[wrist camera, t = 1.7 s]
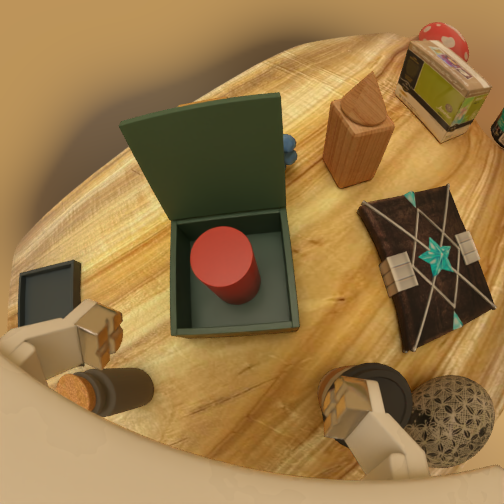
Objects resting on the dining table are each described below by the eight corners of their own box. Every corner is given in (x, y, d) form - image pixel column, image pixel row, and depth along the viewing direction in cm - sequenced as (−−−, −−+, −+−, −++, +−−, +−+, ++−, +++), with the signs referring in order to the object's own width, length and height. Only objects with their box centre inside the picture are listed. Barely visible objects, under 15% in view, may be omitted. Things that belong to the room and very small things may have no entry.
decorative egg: (398, 366, 34) (455, 370, 20) (461, 379, 32) (526, 382, 18) (371, 445, 31) (412, 486, 17) (436, 452, 29) (492, 481, 15)
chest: (296, 331, 38) (299, 326, 31) (188, 338, 39) (170, 335, 32) (285, 228, 42) (285, 205, 36) (186, 238, 43) (171, 219, 37)
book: (355, 212, 42) (362, 195, 37) (439, 192, 42) (451, 176, 37) (401, 353, 35) (416, 353, 30) (485, 313, 34) (504, 307, 30)
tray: (84, 366, 38) (76, 365, 36) (27, 364, 39) (19, 364, 37) (80, 263, 44) (73, 259, 42) (26, 276, 45) (19, 273, 43)
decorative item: (355, 149, 46) (379, 54, 27) (374, 179, 44) (412, 86, 25) (320, 158, 46) (333, 58, 27) (338, 190, 44) (365, 92, 25)
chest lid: (280, 96, 22) (274, 73, 24) (118, 126, 23) (130, 100, 25) (286, 206, 35) (281, 179, 38) (169, 220, 36) (173, 193, 39)
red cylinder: (264, 300, 39) (257, 280, 28) (217, 308, 39) (193, 292, 28) (256, 254, 41) (247, 220, 30) (211, 263, 41) (187, 232, 31)
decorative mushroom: (463, 80, 51) (481, 40, 37) (445, 93, 50) (465, 46, 36) (425, 52, 56) (437, 11, 42) (402, 62, 54) (414, 15, 40)
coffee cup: (296, 394, 35) (304, 421, 21) (338, 346, 36) (371, 343, 22) (342, 430, 32) (373, 470, 18) (382, 383, 34) (434, 396, 20)
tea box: (465, 133, 46) (494, 86, 32) (439, 144, 45) (469, 91, 31) (421, 86, 51) (439, 38, 37) (392, 93, 50) (408, 39, 36)
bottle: (142, 361, 38) (78, 360, 24) (161, 397, 36) (102, 414, 22) (113, 376, 38) (45, 378, 23) (130, 411, 36) (66, 429, 22)
